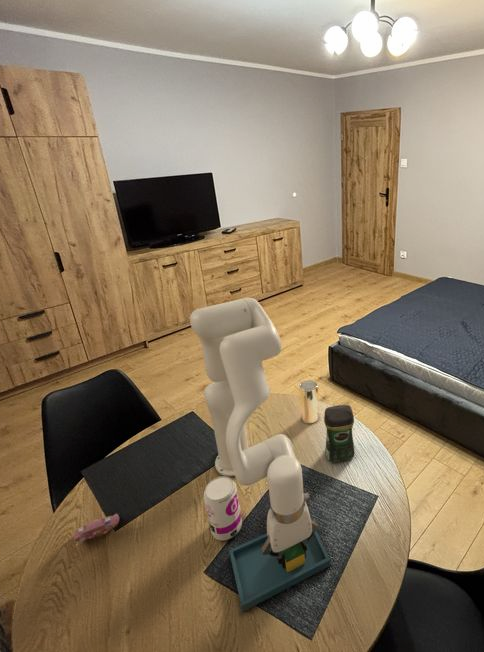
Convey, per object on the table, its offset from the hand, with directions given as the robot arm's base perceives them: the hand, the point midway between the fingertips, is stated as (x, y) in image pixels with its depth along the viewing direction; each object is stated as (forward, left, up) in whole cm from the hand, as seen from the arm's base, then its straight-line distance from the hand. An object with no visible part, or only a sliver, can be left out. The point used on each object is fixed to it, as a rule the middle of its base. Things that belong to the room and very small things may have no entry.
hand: (292, 556), depth 91 cm
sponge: (-1, 0, -1) cm, 1 cm away
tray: (-1, -3, -1) cm, 4 cm away
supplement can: (-16, -13, -2) cm, 21 cm away
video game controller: (-30, -44, -2) cm, 54 cm away
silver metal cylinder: (-46, +24, -2) cm, 52 cm away
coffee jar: (-25, +26, -2) cm, 36 cm away
